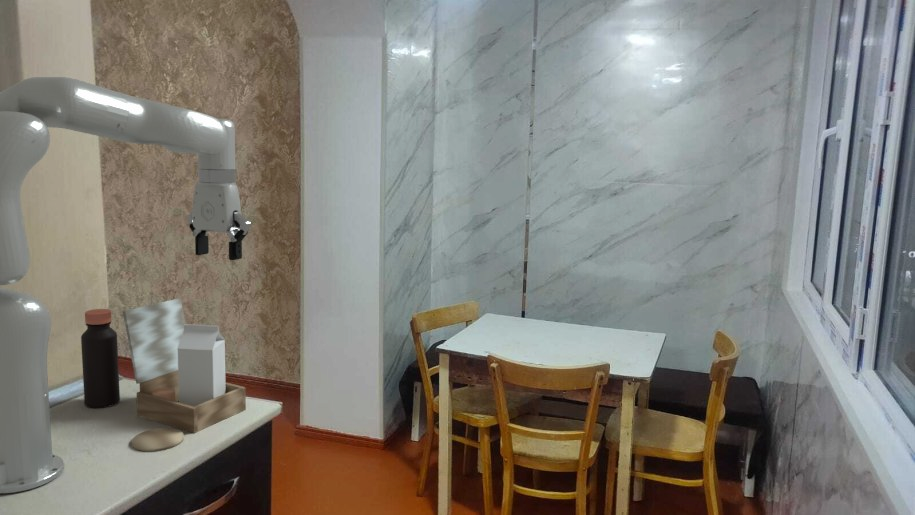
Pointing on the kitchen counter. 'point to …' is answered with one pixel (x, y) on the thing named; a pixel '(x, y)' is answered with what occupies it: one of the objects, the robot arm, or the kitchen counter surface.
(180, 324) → the box
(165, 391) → the tan rounded ovoid
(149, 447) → the coaster
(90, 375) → the bottle
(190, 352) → the milk carton
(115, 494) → the kitchen counter surface
